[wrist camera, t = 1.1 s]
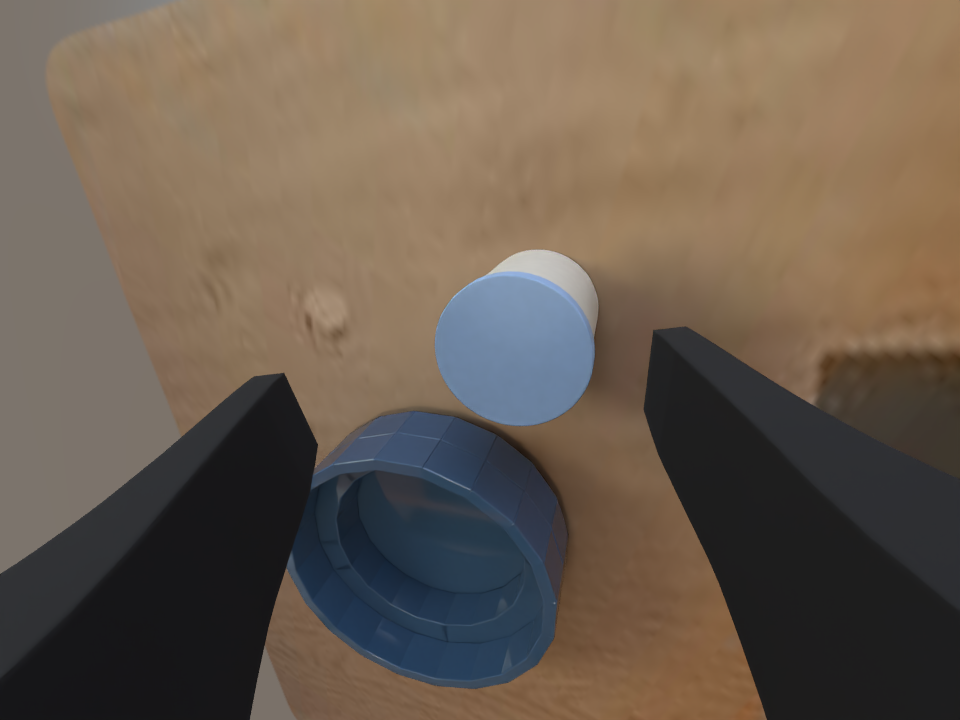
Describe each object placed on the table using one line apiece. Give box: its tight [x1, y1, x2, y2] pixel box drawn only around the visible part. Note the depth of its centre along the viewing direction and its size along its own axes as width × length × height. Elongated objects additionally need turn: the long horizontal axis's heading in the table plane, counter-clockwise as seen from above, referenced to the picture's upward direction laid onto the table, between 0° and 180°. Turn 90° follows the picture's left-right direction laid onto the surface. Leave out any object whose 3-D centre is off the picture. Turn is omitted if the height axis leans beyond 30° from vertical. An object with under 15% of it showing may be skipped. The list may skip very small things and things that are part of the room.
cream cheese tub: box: [435, 250, 599, 426], centre depth 18 cm, size 6×6×6 cm
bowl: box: [286, 411, 568, 689], centre depth 25 cm, size 14×14×5 cm
